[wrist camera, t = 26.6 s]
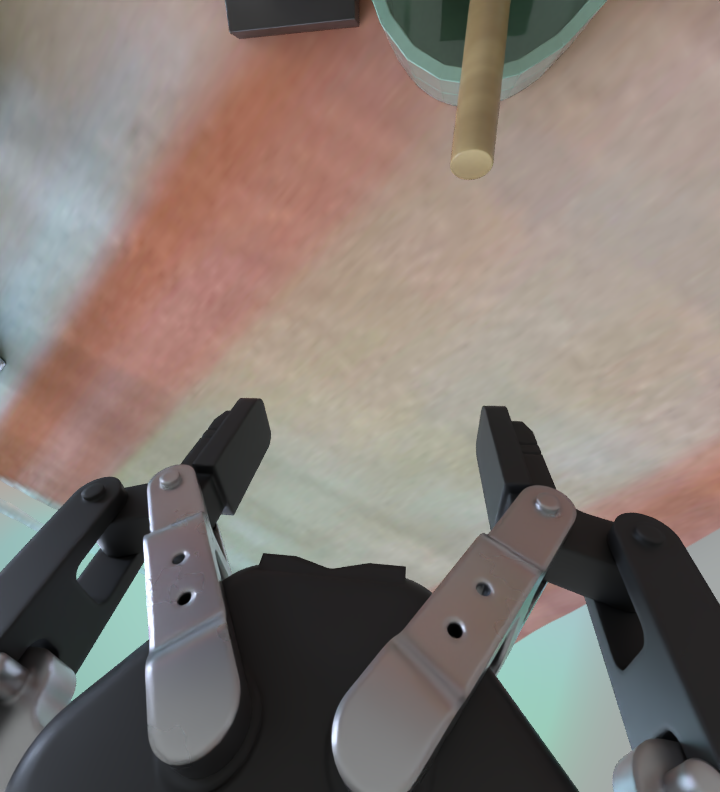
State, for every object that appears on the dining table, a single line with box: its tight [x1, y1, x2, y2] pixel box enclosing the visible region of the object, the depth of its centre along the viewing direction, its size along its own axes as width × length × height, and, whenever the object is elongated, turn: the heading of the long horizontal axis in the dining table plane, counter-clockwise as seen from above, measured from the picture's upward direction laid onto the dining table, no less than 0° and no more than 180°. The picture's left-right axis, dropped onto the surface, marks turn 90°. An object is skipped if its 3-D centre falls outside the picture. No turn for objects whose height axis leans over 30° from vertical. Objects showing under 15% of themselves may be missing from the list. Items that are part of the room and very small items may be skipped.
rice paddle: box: [450, 0, 511, 180], centre depth 20 cm, size 19×6×2 cm
